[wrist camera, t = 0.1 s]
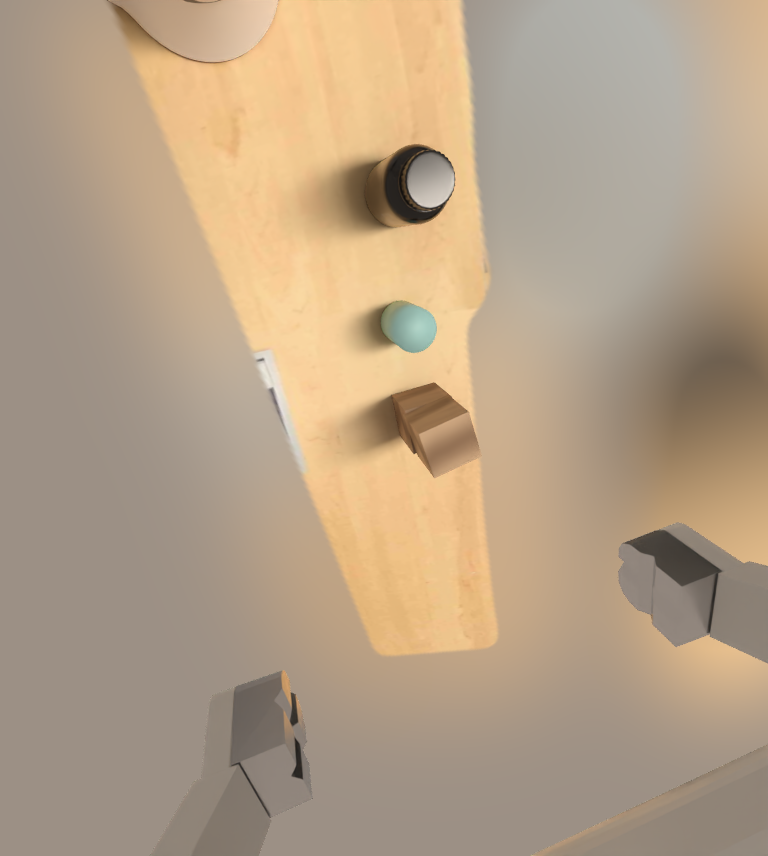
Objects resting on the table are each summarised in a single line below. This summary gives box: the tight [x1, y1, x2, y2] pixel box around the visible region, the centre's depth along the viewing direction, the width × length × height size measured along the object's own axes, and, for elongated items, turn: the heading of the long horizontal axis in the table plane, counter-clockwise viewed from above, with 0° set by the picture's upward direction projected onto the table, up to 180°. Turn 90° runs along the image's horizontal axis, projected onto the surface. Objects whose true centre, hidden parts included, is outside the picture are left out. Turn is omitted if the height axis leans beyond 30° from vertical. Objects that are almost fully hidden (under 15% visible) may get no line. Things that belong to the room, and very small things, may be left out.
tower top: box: [403, 395, 482, 478], centre depth 54 cm, size 6×6×6 cm
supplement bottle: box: [365, 144, 455, 227], centre depth 46 cm, size 7×7×12 cm
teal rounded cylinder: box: [381, 301, 437, 353], centre depth 54 cm, size 5×5×6 cm
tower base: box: [392, 383, 452, 454], centre depth 59 cm, size 6×6×6 cm
